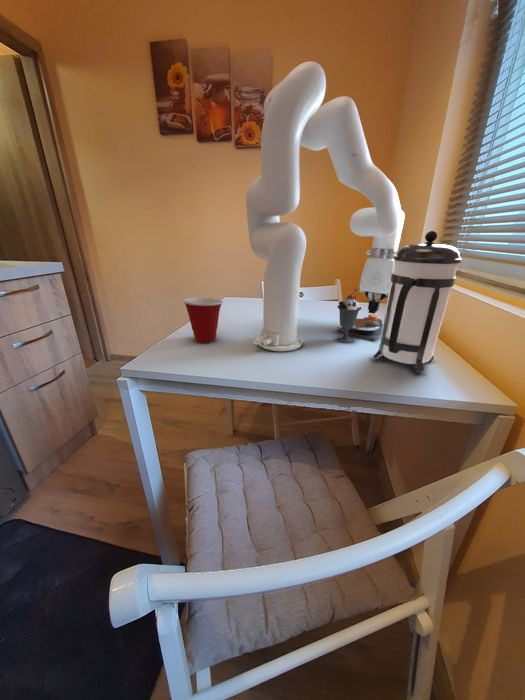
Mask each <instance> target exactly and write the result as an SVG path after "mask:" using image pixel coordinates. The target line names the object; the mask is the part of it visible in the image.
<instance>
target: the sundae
mask: <svg viewBox="0 0 525 700" xmlns="http://www.w3.org/2000/svg"><path fill="white" fill-rule="evenodd" d="M357 291H358V289H357V288H354V292H353V293H354V296H353V294H349V295H348V296H346V297H345V298H343V300H340V301H339V302H338V305H337V306H336V307H337V309H338V310H339V326H340V328H343V329H344V334H342V336H338V337H337V338H336V339H335V340H336V341H337V342H339V343H340V344H341V343H342V344H353V343H354V339H353V338H351V337H349V335H348V330H349V329H351V328H352V327H353V326H354V324H355V321H356V319H358V314H359V312H360V311H361V310H362V307H361V306H360V304H359V302H358V301H357V300H358V298H357V296H356V293H357Z"/></svg>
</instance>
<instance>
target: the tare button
mask: <svg viewBox="0 0 525 700" xmlns="http://www.w3.org/2000/svg"><path fill="white" fill-rule="evenodd" d="M367 317H368V320H372V321H377V320H378V319H379V315H378V314H368V315H367Z"/></svg>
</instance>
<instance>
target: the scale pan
mask: <svg viewBox="0 0 525 700" xmlns="http://www.w3.org/2000/svg"><path fill="white" fill-rule="evenodd" d="M379 327H380V324H379V323H377V322H375V321H372V320H368V319H363V318H356V321H355V324H354V326H353V327H352V328H354V329H358V330H367V331H371V330H377V329H379Z"/></svg>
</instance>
